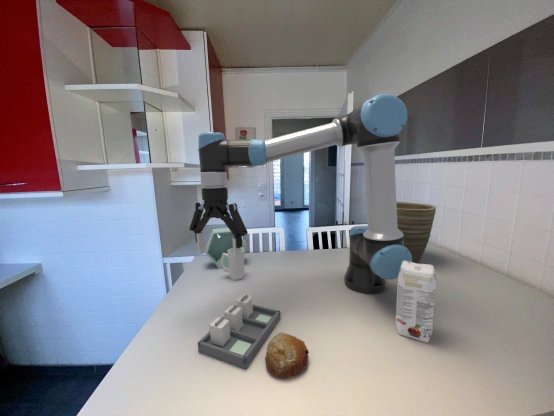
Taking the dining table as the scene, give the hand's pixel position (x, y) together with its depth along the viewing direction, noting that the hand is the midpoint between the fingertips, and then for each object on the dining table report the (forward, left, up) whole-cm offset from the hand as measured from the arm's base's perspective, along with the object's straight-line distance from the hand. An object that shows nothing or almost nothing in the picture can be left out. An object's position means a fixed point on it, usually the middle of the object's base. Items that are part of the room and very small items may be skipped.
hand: (218, 255), depth 73 cm
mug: (+11, -22, -19) cm, 32 cm away
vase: (-56, -67, -19) cm, 90 cm away
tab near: (-9, +13, -18) cm, 23 cm away
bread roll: (-27, +11, -19) cm, 35 cm away
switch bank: (-12, +7, -19) cm, 23 cm away
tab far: (-9, +1, -18) cm, 20 cm away
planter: (+22, -33, -19) cm, 44 cm away
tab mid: (-9, +7, -18) cm, 21 cm away
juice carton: (-55, -11, -19) cm, 59 cm away
